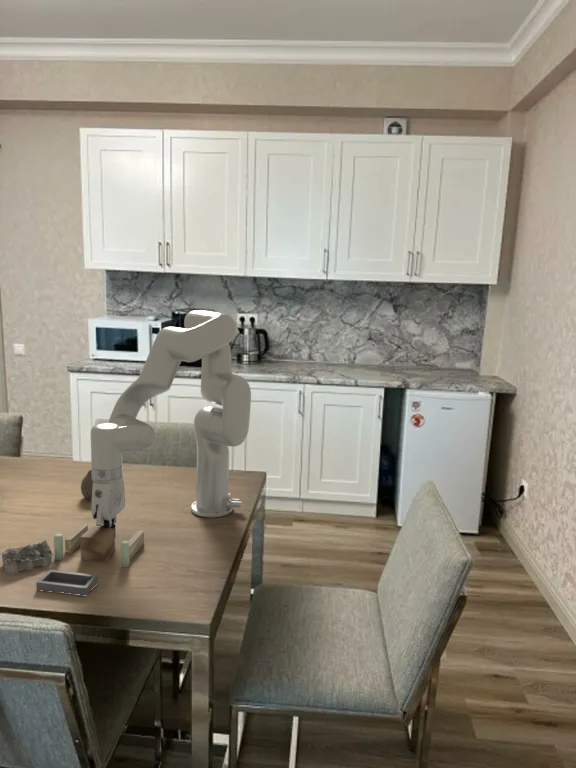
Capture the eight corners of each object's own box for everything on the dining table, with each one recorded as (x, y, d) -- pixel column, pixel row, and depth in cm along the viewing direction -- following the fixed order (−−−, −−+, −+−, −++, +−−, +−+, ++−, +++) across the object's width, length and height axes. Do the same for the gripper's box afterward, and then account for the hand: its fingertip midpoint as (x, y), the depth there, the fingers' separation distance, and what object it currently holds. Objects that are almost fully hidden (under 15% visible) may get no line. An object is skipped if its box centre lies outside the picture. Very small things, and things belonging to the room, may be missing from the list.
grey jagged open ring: (5, 577, 132) (4, 561, 131) (1, 563, 138) (0, 547, 138) (54, 566, 138) (53, 550, 137) (48, 552, 144) (47, 537, 143)
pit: (98, 583, 131) (97, 575, 130) (86, 596, 125) (86, 588, 125) (50, 577, 132) (50, 569, 132) (36, 590, 127) (36, 582, 126)
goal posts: (130, 564, 140) (130, 541, 139) (127, 568, 138) (127, 545, 137) (57, 555, 142) (56, 533, 141) (53, 559, 140) (52, 536, 139)
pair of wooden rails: (144, 543, 151) (143, 530, 150) (130, 559, 142) (129, 546, 141) (82, 536, 153) (82, 524, 152) (65, 552, 144) (64, 539, 143)
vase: (89, 504, 174) (89, 476, 172) (76, 497, 178) (75, 470, 176) (109, 497, 179) (108, 470, 177) (95, 491, 183) (95, 465, 181)
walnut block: (114, 550, 146) (114, 528, 145) (104, 562, 140) (103, 539, 139) (92, 548, 147) (92, 526, 146) (81, 559, 141) (80, 536, 140)
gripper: (107, 484, 138) (109, 554, 141) (133, 464, 152) (133, 528, 156) (78, 481, 139) (80, 551, 142) (106, 461, 153) (107, 525, 157)
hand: (108, 539), depth 149 cm, fingers closed
